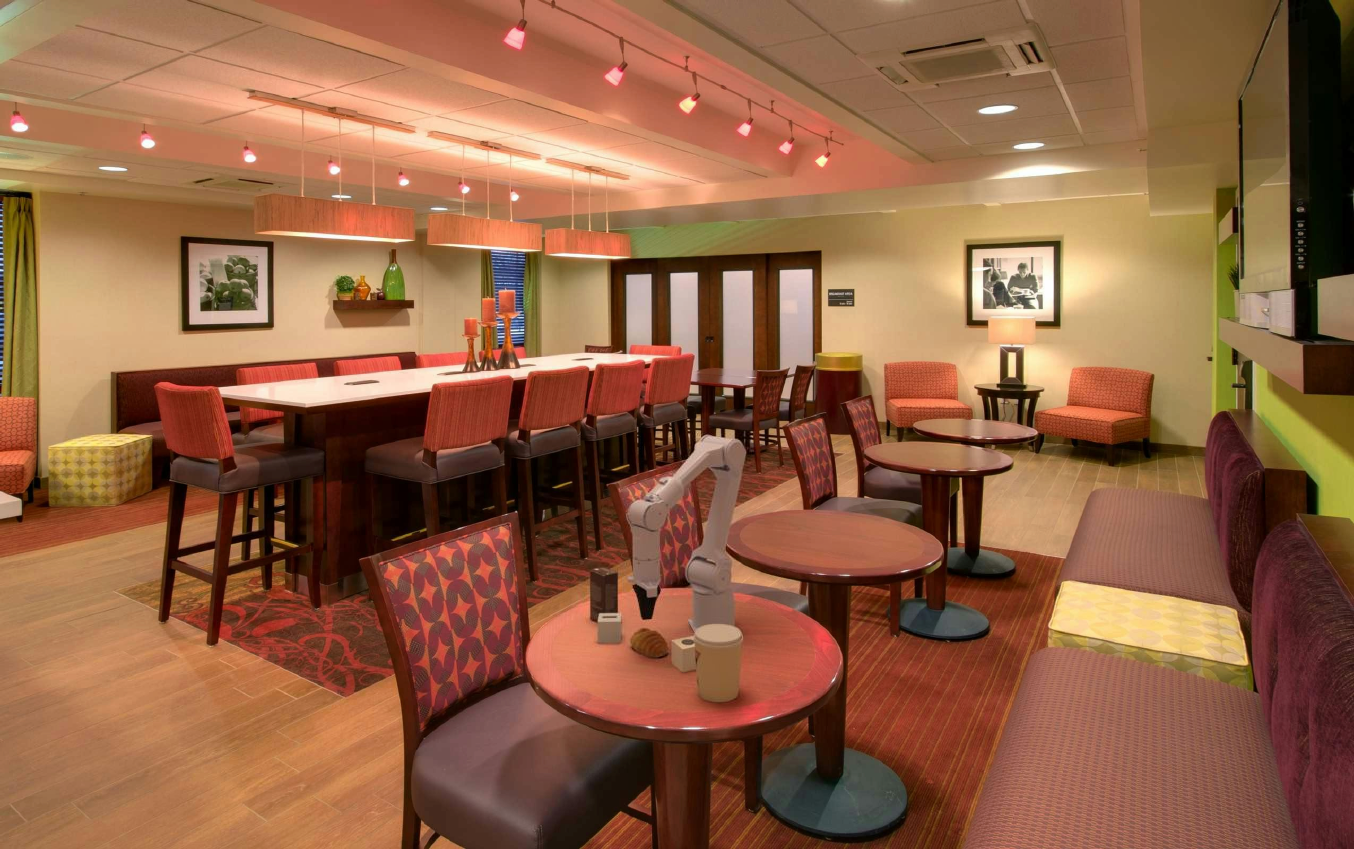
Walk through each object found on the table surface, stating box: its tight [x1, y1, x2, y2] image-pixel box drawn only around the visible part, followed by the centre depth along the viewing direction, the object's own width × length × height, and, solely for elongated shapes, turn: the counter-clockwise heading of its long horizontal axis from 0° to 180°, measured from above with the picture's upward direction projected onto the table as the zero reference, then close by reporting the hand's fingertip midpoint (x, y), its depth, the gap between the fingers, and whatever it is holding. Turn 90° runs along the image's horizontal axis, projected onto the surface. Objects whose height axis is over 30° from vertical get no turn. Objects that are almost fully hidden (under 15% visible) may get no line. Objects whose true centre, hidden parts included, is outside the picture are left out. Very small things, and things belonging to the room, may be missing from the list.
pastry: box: [629, 627, 669, 659], centre depth 171 cm, size 9×7×4 cm
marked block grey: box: [597, 612, 623, 644], centre depth 177 cm, size 5×5×5 cm
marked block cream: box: [671, 635, 696, 673], centre depth 164 cm, size 5×5×5 cm
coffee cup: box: [693, 624, 744, 703], centre depth 151 cm, size 9×9×12 cm
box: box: [589, 566, 619, 623], centre depth 188 cm, size 6×4×12 cm
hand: (646, 618), depth 170 cm, fingers closed
